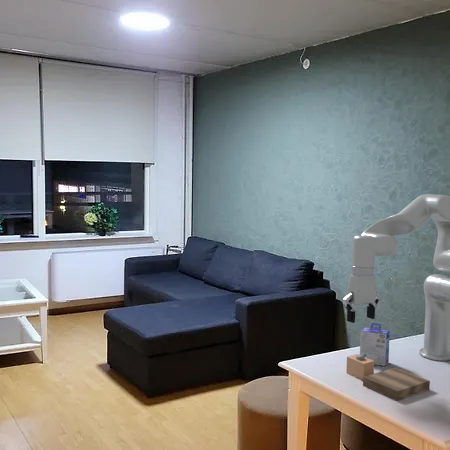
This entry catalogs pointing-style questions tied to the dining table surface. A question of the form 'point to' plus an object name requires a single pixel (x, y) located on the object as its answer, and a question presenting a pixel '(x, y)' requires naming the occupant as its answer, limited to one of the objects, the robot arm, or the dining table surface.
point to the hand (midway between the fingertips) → (360, 319)
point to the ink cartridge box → (375, 344)
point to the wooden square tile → (396, 383)
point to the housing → (359, 366)
